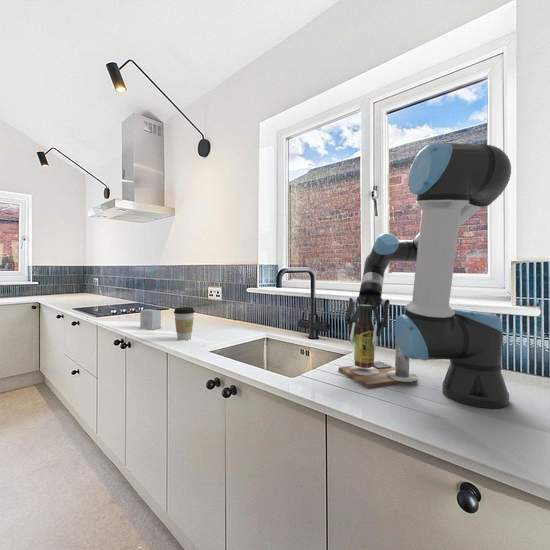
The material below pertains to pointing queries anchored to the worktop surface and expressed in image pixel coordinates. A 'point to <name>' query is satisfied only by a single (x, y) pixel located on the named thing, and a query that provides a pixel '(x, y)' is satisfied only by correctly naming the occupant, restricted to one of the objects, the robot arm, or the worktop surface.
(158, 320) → the skincare box
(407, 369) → the peg
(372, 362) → the sauce bottle
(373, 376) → the board
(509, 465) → the worktop surface
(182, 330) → the coffee cup
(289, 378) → the worktop surface
